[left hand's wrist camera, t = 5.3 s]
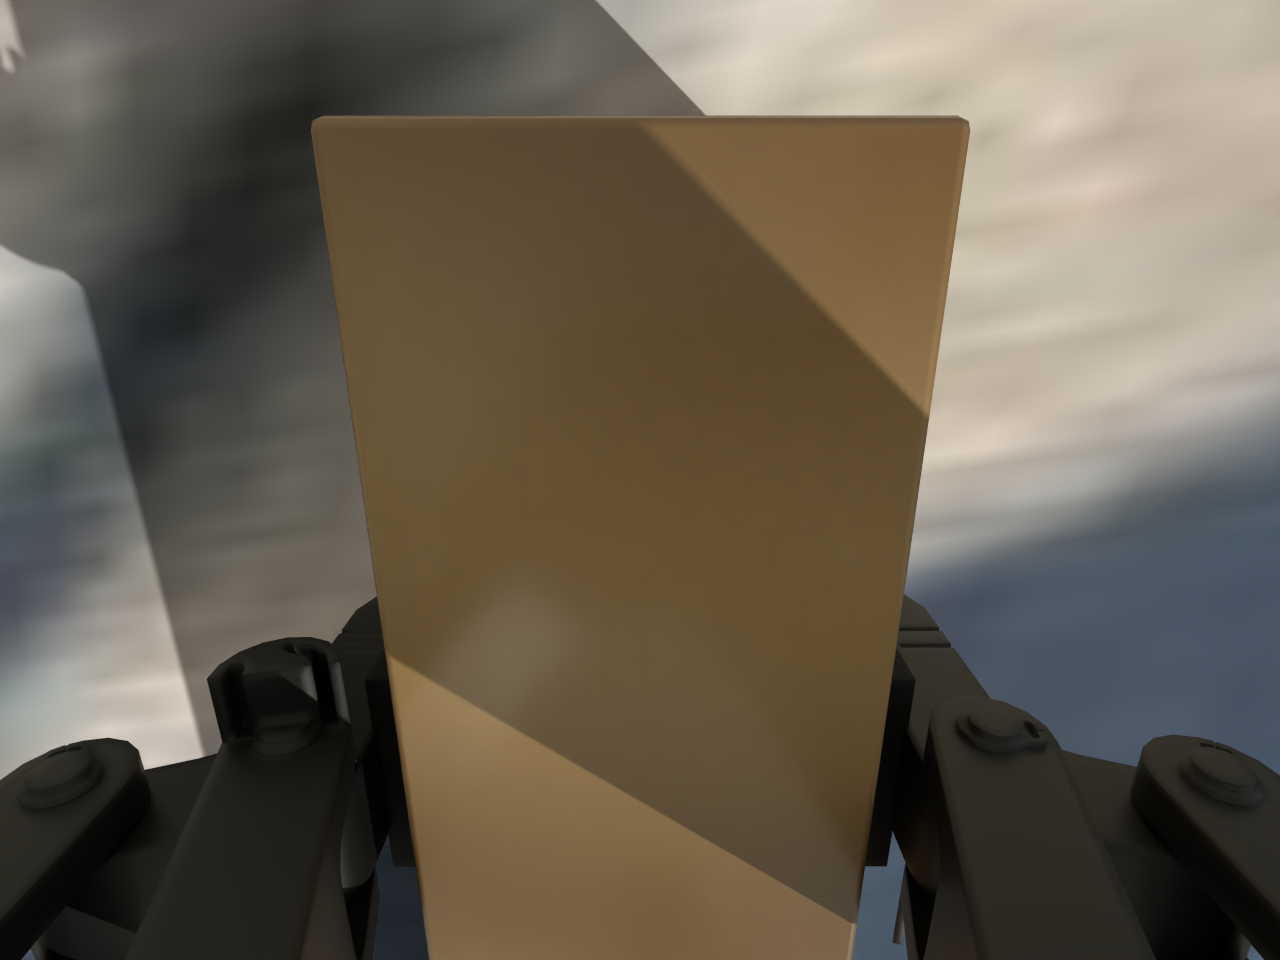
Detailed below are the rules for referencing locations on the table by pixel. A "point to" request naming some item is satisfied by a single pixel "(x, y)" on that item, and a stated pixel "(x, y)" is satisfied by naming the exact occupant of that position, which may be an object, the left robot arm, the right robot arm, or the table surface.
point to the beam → (640, 506)
